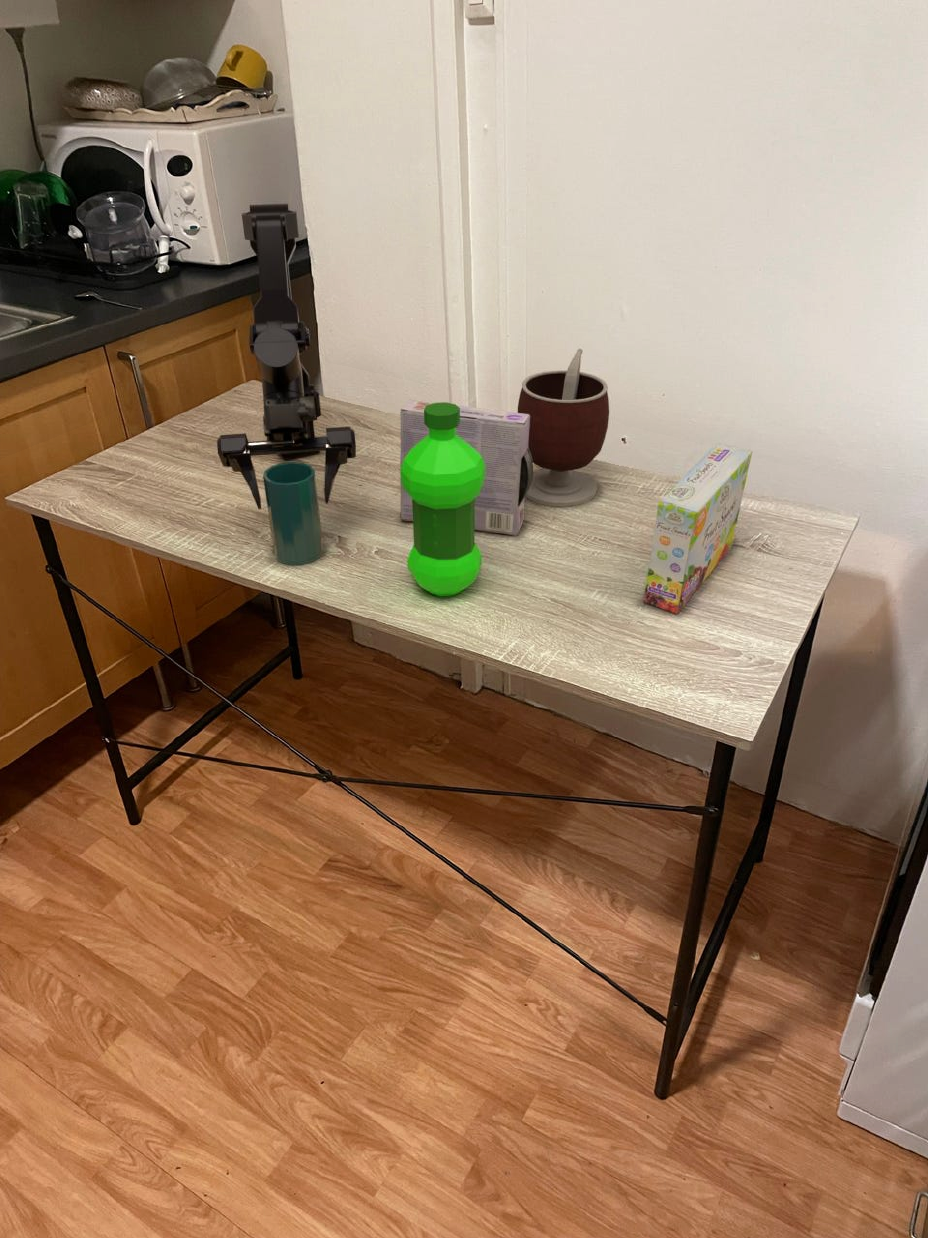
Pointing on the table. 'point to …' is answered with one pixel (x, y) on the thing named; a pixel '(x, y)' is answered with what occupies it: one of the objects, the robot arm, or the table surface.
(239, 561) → the table surface
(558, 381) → the mate gourd
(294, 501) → the teal and beige cup
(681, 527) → the snack box
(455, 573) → the plastic bottle
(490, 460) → the cake pan box
